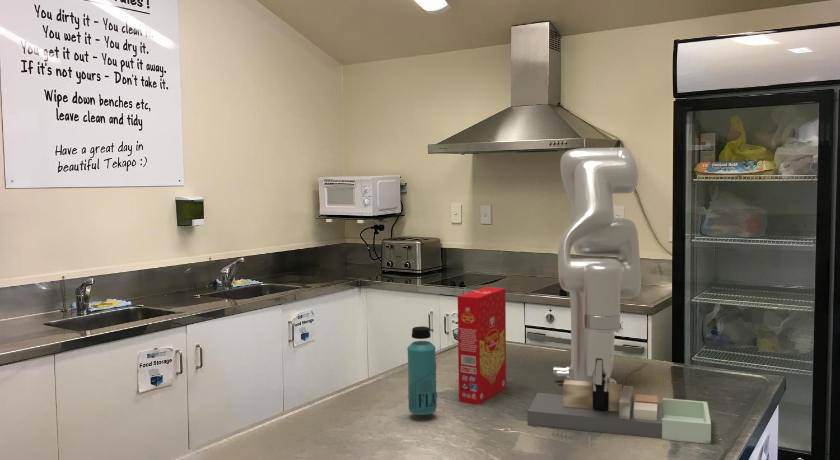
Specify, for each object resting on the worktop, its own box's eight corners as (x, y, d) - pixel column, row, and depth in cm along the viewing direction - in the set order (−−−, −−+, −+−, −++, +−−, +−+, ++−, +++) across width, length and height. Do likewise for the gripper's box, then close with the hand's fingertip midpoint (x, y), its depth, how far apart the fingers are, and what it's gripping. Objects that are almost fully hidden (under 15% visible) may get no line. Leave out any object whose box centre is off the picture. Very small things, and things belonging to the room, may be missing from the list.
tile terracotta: (634, 409, 149) (634, 400, 149) (635, 403, 154) (635, 394, 154) (657, 411, 148) (657, 402, 148) (657, 405, 152) (657, 395, 152)
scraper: (559, 413, 148) (559, 389, 148) (568, 396, 159) (568, 374, 159) (629, 419, 143) (629, 395, 143) (632, 402, 154) (633, 379, 154)
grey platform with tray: (527, 425, 150) (527, 407, 149) (538, 404, 163) (538, 387, 162) (710, 444, 138) (711, 424, 138) (706, 420, 151) (707, 401, 151)
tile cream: (633, 418, 144) (633, 408, 144) (634, 411, 148) (634, 402, 148) (656, 420, 143) (657, 411, 143) (657, 413, 147) (657, 404, 147)
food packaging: (478, 404, 164) (477, 297, 162) (458, 401, 166) (457, 296, 164) (506, 388, 176) (505, 288, 174) (487, 384, 179) (486, 287, 177)
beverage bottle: (416, 423, 152) (414, 332, 150) (402, 414, 158) (401, 326, 156) (442, 418, 155) (441, 328, 153) (428, 409, 161) (427, 323, 159)
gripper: (588, 313, 158) (587, 394, 160) (578, 328, 143) (578, 417, 144) (622, 315, 156) (622, 397, 157) (617, 330, 141) (616, 421, 142)
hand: (601, 406), depth 151 cm, fingers closed on scraper, 3 cm apart
